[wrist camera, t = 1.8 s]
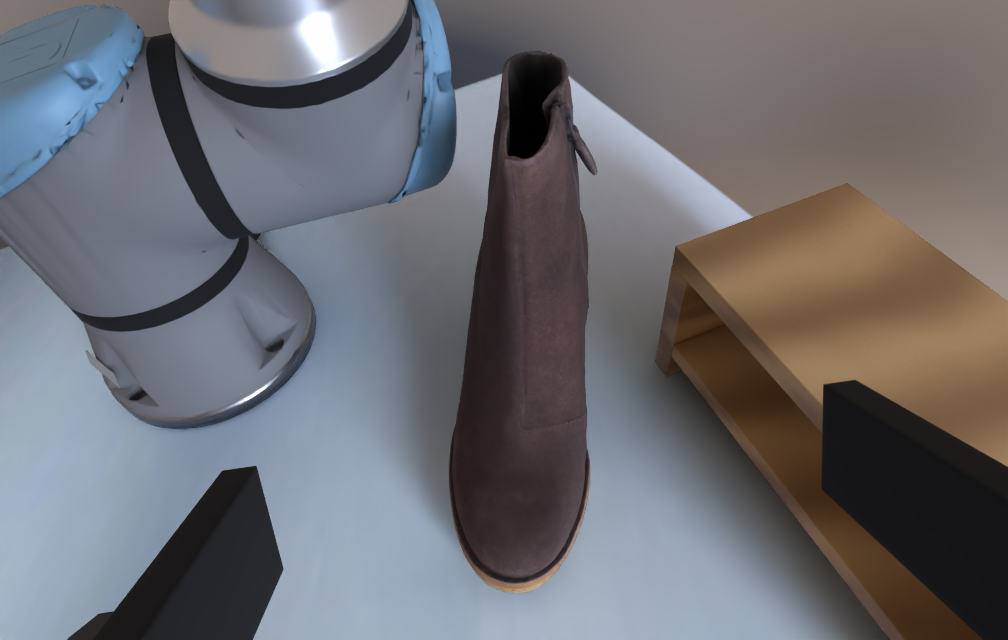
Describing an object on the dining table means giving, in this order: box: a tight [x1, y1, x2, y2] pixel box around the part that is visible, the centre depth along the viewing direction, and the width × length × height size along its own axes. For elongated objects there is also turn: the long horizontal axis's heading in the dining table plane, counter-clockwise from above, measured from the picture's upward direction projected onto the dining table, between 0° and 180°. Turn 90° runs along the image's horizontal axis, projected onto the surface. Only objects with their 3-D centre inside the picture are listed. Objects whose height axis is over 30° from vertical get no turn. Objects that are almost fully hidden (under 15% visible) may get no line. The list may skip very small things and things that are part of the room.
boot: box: [449, 51, 597, 593], centre depth 33 cm, size 9×24×20 cm, turn 174°
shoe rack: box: [655, 183, 1008, 640], centre depth 31 cm, size 28×12×11 cm, turn 22°
